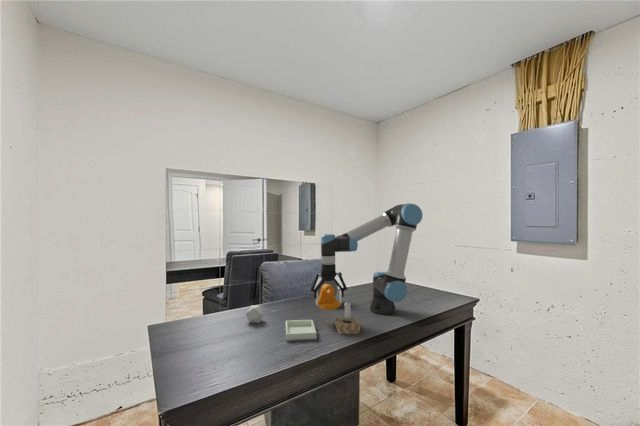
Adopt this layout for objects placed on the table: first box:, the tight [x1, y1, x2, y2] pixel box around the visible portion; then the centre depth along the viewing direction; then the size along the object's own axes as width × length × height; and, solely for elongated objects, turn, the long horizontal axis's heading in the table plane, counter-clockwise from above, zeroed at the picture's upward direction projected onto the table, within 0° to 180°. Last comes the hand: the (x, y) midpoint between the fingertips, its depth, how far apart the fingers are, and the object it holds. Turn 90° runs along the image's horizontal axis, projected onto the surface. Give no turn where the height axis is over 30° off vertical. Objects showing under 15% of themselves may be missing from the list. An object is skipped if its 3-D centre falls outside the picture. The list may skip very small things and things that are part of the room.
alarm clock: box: [312, 276, 339, 305], centre depth 177 cm, size 16×10×18 cm, turn 122°
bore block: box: [334, 316, 361, 335], centre depth 136 cm, size 10×10×4 cm
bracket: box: [316, 284, 342, 312], centre depth 146 cm, size 11×7×12 cm, turn 117°
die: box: [245, 304, 265, 324], centre depth 144 cm, size 8×9×10 cm
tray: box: [284, 319, 318, 342], centre depth 131 cm, size 14×16×3 cm
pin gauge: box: [343, 301, 352, 323], centre depth 136 cm, size 3×3×13 cm
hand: (328, 303), depth 146 cm, fingers closed on bracket, 12 cm apart
